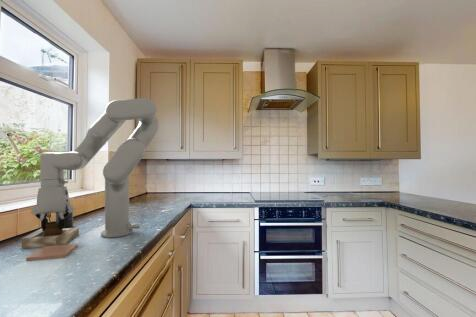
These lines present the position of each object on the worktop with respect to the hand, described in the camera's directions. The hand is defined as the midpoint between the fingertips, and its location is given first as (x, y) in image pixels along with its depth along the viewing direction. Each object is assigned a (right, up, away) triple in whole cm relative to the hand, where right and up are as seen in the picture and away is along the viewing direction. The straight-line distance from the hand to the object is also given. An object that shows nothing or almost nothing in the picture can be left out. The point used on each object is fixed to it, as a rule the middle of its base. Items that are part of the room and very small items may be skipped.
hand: (53, 228), depth 103 cm
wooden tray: (0, -5, 0) cm, 5 cm away
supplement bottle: (-9, -5, +20) cm, 23 cm away
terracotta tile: (+10, -5, -14) cm, 18 cm away
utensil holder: (0, -5, 0) cm, 5 cm away
